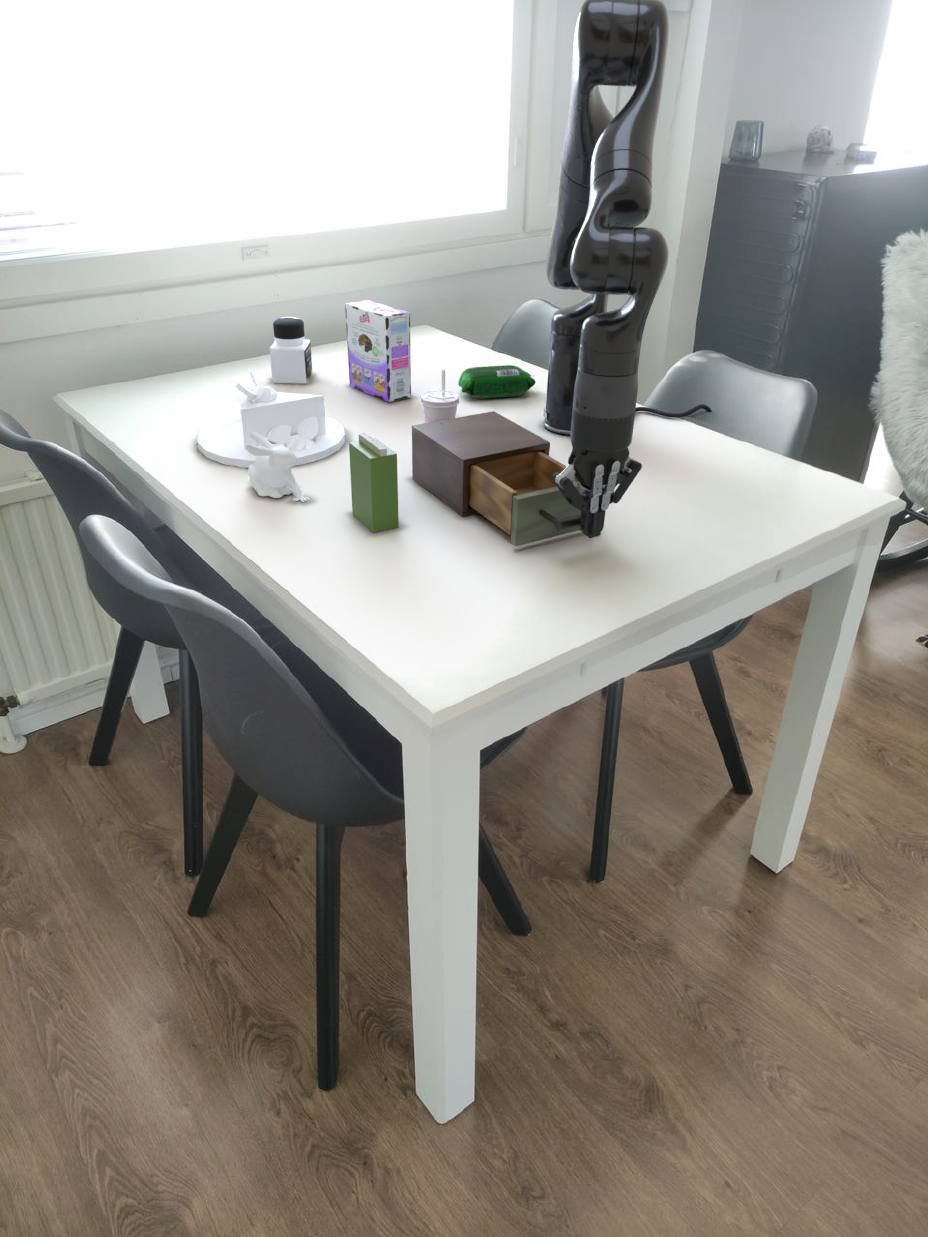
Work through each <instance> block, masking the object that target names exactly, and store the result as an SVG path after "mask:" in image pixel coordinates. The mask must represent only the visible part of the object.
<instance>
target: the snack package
mask: <svg viewBox="0 0 928 1237" xmlns="http://www.w3.org/2000/svg"><path fill="white" fill-rule="evenodd" d="M535 385H536V380H535V379H534V378H533V376H532V375H531V374H530V373H529V372H528V371H526V370H524V369H523V368H521V367H520V366H517V365H512V364H510V365H509V364H504V365H489V366H474V367H468V368H466V369H465V370H463V371H462V373H461V374H460V377H459V379H458V387H460V388H461V392H462V393H463V394H466V395H468V397H470V398H472V399H475V400H484V399H497V398H509V397H519V396H523V395H524V394H526V393H527V392H528V391H529V390H530V389H531V388H533V387H534V386H535Z"/></svg>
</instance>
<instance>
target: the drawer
mask: <svg viewBox="0 0 928 1237" xmlns="http://www.w3.org/2000/svg"><path fill="white" fill-rule="evenodd" d="M567 466H568V465H565V464H564V463H562V462H560V461H558V460H557V459H554V458H553V457H552V456H550V455H549V456H548V455H546V454H544V453H543V452H541V451H539V450H538V451H533V452H528V453H524V454H519V455H514V456H509V457H504V458H499V459H494V460H489V461H484V462H479V463H474V464H470V465H469V473H468V505H469V506H471V507H472V508H473V509H475V510H476V511H477V512H479V513H478V514H480V515H482V516H483V517H484V518H486V519H487V520H488V521H490V522H491V523H493V525H495V526H497V527H498V528H499V529H500V530H502V531H504V533H506V534H508V535H509V536H510V544H511V545H512V546H514V547H516V548H517V547H519V546H523V545H528V544H531V543H536V542H539V541H543V540H548V539H551V538H554V537H559V536H563V535H566V534H567V535H568V534H571V533H575V532H578V531H581V530H580V521H581V520H580V519H581V511H580V510H579V509H577V508H575V507H574V506H572V505H571V504H569V502H568V501H567V500H566V498H565V497H564V496H563V494H562V493H561V492H560V490H559V489H558V487H557V486H556V485H555V483H554V482H553V481H552V475H553V474H554V473H555V472H558V473H561V472H562V471H563V470H564V469H565V468H566V467H567ZM574 477H575V482H576V485H575V487H576V489H577V490H578V491H579V489H578V479H577V478H576V476H574ZM579 493H580V491H579Z"/></svg>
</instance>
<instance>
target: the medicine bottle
mask: <svg viewBox="0 0 928 1237" xmlns="http://www.w3.org/2000/svg"><path fill="white" fill-rule="evenodd" d="M272 328H273V329H272V330H273V339H274V342H273V343H272V345H271V346H270V347H269V359H270V369H271V380H272V383H273V384H296V385H297V384H298V385H301V384H303V385H307V384H308V383H309V381H310V379H311V377H312V375H313V361H312V360H313V359H312V346H311V340H310V339H306V335H305V323H304V320H302V319H301V318H299V317H295V316H283V317H279V318H277V319H275V320H274V321H273V322H272Z"/></svg>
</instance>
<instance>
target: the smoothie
mask: <svg viewBox="0 0 928 1237" xmlns="http://www.w3.org/2000/svg"><path fill="white" fill-rule="evenodd" d="M419 402H420V404H421V405H422V411H423V417H424V423H430V422H435V421H441V420H447V419H452V418H457V409H458V405H459V404H460V395H459V394H458V393H456V392H453V391H450V390H446V369H441V390H430V391H426V392H424V393H422V394H421V395H420V401H419Z"/></svg>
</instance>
